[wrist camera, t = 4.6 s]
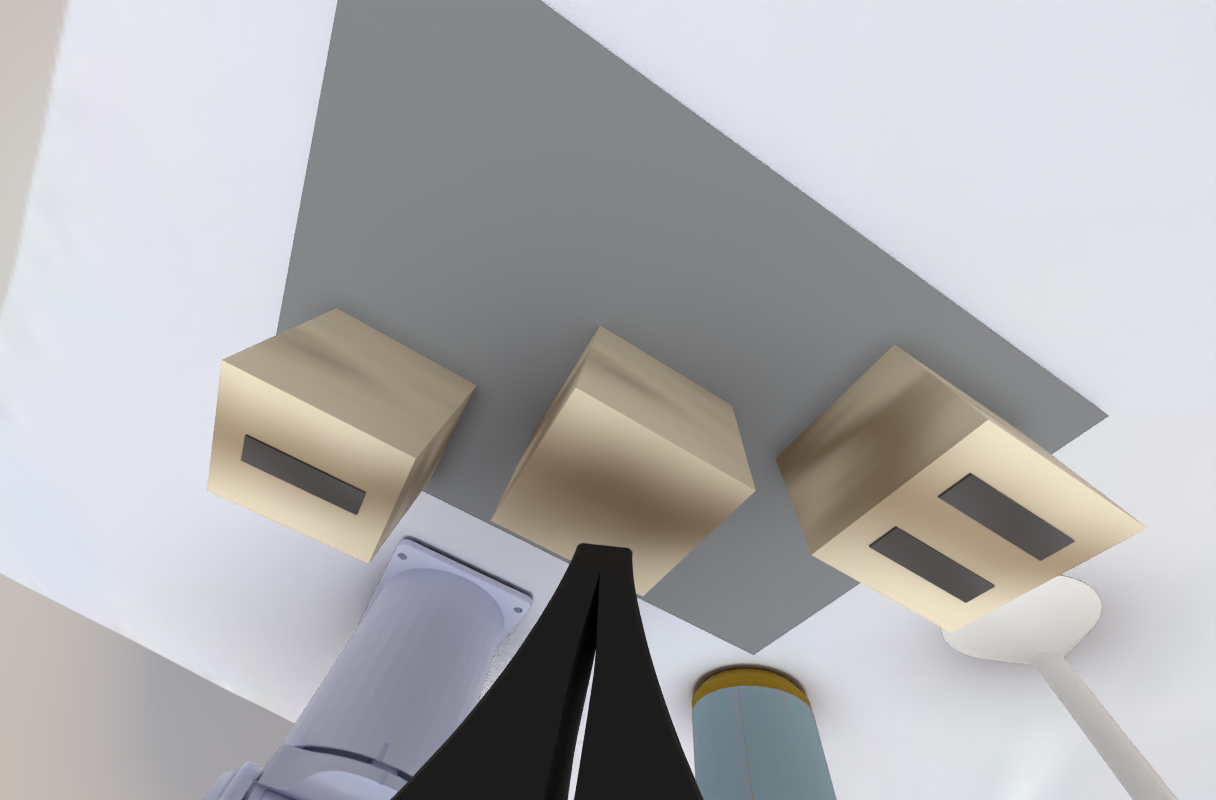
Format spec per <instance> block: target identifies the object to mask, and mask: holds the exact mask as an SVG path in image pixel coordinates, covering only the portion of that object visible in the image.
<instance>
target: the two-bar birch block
mask: <svg viewBox="0 0 1216 800" xmlns="http://www.w3.org/2000/svg"><path fill="white" fill-rule="evenodd" d="M775 459H776V461H777V464H778V467H779V469H780V472H781V475H782V477H783V480H784V483H785V486H786V488H787V491H788V494H789V496H790V499H791V502H792V504H793V507H794V510H795V512H796V515H797V518H798V521H799V523H800V526H801V529H802V531H803V534H804V537H805V539H806V542H807V545H808V548H809V550H810V553H811V555H812V556H814V557H816V558H818V559H819V560H821V561H823V562H825V563H827V564H828V565H830V566H832V567H834V568H835V569H837V570H839V571H841V572H843V573H844V574H846V575H848V576H850V577H852V578H853V579H855V580H857V581H859V582H861V583H862V584H864V585H866V586H868V587H870V588H871V589H873V590H875V591H877V592H878V593H880V594H882V595H884V596H886V597H887V598H889V599H891V600H893V601H895V602H896V603H898V604H900V605H902V606H904V607H905V608H907V609H909V610H911V611H913V612H914V613H916V614H918V615H920V616H922V617H923V618H925V619H927V620H929V621H930V622H932V623H934V624H936V625H938V626H939V627H941V628H943V629H945V630H947V631H948V632H950V633H952V632H954V631H956V630H958V629H960V628H962V627H963V626H965V625H967V624H969V623H971V622H973V621H975V620H977V619H978V618H980V617H982V616H984V615H986V614H988V613H990V612H991V611H993V610H995V609H997V608H999V607H1001V606H1003V605H1005V604H1006V603H1008V602H1010V601H1012V600H1014V599H1016V598H1018V597H1019V596H1021V595H1023V594H1025V593H1027V592H1029V591H1031V590H1033V589H1034V588H1036V587H1038V586H1040V585H1042V584H1044V583H1046V582H1047V581H1049V580H1051V579H1053V578H1055V577H1057V576H1059V575H1061V574H1062V573H1064V572H1066V571H1068V570H1070V569H1072V568H1074V567H1075V566H1077V565H1079V564H1081V563H1083V562H1085V561H1087V560H1089V559H1090V558H1092V557H1094V556H1096V555H1098V554H1100V553H1102V552H1104V551H1105V550H1107V549H1109V548H1111V547H1113V546H1115V545H1117V544H1118V543H1120V542H1122V541H1124V540H1126V539H1128V538H1130V537H1132V536H1133V535H1135V534H1137V533H1139V532H1141V531H1143V530H1145V529H1146V528H1147V527H1145V526H1144V525H1143V524H1142V523H1140V522H1139V521H1138V520H1136V519H1135V518H1134V517H1132V516H1131V515H1130V514H1128V513H1127V512H1126V511H1125V510H1123V509H1122V508H1121V507H1119V506H1118V505H1117V504H1115V503H1114V502H1113V501H1111V500H1110V499H1109V498H1107V497H1106V496H1105V495H1104V494H1102V493H1101V492H1100V491H1098V490H1097V489H1096V488H1094V487H1093V486H1092V485H1090V484H1089V483H1088V482H1087V481H1085V480H1084V479H1083V478H1081V477H1080V476H1079V475H1077V474H1076V473H1075V472H1073V471H1072V470H1071V469H1069V468H1068V467H1067V466H1066V465H1064V464H1063V463H1062V462H1060V461H1059V460H1058V459H1056V458H1055V457H1054V456H1052V455H1051V454H1050V453H1048V452H1047V451H1046V450H1045V449H1043V448H1042V447H1041V446H1039V445H1038V444H1037V443H1035V442H1034V441H1033V440H1031V439H1030V438H1029V437H1028V436H1026V435H1025V434H1024V433H1022V432H1021V431H1020V430H1018V429H1017V428H1016V427H1014V426H1013V425H1011V424H1010V423H1008V422H1007V421H1006V420H1004V419H1003V418H1001V417H1000V416H998V415H997V414H995V413H994V412H992V411H991V410H990V409H988V408H987V407H985V406H984V405H982V404H981V403H979V402H978V401H976V400H975V399H973V398H972V397H971V396H969V395H968V394H966V393H965V392H963V391H962V390H960V389H959V388H957V387H956V386H955V385H953V384H952V383H950V382H949V381H947V380H946V379H944V378H943V377H941V376H940V375H939V374H937V373H936V372H934V371H933V370H931V369H930V368H928V367H927V366H925V365H924V364H923V363H921V362H920V361H918V360H917V359H915V358H914V357H912V356H911V355H909V354H908V353H907V352H905V351H904V350H902V349H901V348H899V347H898V346H896V345H895V344H894V345H893V346H892V347H891V348H890V349H889V350H888V351H887V352H886V353H885V354H884V355H883V356H882V357H881V358H880V359H879V360H878V361H877V362H876V363H874V364H873V365H872V366H871V367H870V368H869V369H868V370H867V371H866V372H865V373H864V374H863V375H862V376H861V377H860V378H859V379H858V380H857V381H856V382H855V383H854V384H853V385H852V386H851V387H849V388H848V389H847V390H846V391H845V392H844V393H843V394H842V395H841V396H840V397H839V398H838V399H837V400H836V401H835V402H834V403H833V404H832V405H831V406H830V407H829V408H828V409H827V410H825V411H824V412H823V413H822V414H821V415H820V416H819V417H818V418H817V419H816V420H815V421H814V422H813V423H812V424H811V425H810V426H809V427H808V428H807V429H806V430H805V431H804V432H803V433H802V434H800V435H799V436H798V437H797V438H796V439H795V440H794V441H793V442H792V443H791V444H790V445H789V446H788V447H787V448H786V449H785V450H784V451H783V452H782V453H781V454H780V455H779V456H778V457H777V458H775Z"/></svg>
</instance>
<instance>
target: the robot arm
mask: <svg viewBox="0 0 1216 800" xmlns="http://www.w3.org/2000/svg"><path fill="white" fill-rule="evenodd" d="M632 555H633V552H632V551H631V550H630V549H629V548H625V547H616V546H606V545H597V544H588V543H581V544H579V545H577V548H576V551H575V553H574V556H573V558H572V560H571V562H570V564H569V566H568V569H567V571H566V572H565V574H564V576H563V578H562V580H561V582H560V584H559V586H558V588H557V589H556V591H555V593H554V595H553V596H552V598H551V600H550V601H549V603H548V605H547V606H546V608H545V610H544V611H543V613H542V615H541V616H540V618H539V620H538V621H537V623H536V624H535V626H534V627H533V629H532V630H531V632H530V633H529V635H528V636H527V638H526V639H525V641H524V642H523V644H522V645H521V647H520V648H519V650H518V651H517V653H516V654H515V655H514V657H513V658H512V660H511V661H510V662H509V664H508V665H507V666H506V668H505V669H504V670H503V672H502V673H501V675H500V676H499V677H498V678H497V680H496V681H495V682H494V684H493V685H492V686H491V687H490V689H489V690H488V691H487V693H486V694H485V695H484V696H483V698H482V699H481V700H480V701H479V702H478V700H479V697H480V694H481V691H482V689H483V686H484V683H485V680H486V677H487V674H488V671H489V668H490V665H491V662H492V659H493V657H494V654H495V651H496V648H497V647H498V646H499V645H500V643H501V642H502V641H503V640H504V639H505V638H506V636H507V635H508V634H509V633H510V632H511V630H512V629H513V628H514V627H515V626H516V625H517V623H518V622H519V621H520V620H521V619H522V617H523V616H524V615H525V614H526V613H527V612H528V610H529V609H530V607H531V604H532V599H531V598H530V597H529V596H527V595H525V594H523V593H521V592H519V591H517V590H515V589H513V588H511V587H508V586H506V585H504V584H502V583H500V582H498V581H496V580H494V579H492V578H489V577H487V576H485V575H483V574H481V573H479V572H477V571H475V570H473V569H470V568H468V567H466V566H464V565H462V564H460V563H458V562H456V561H454V560H451V559H449V558H447V557H445V556H443V555H441V554H439V553H437V552H435V551H432V550H430V549H428V548H426V547H424V546H422V545H420V544H418V543H416V542H413V541H411V540H407V539H404V540H402V541H401V542H400V543H399V544H398V546H397V547H396V549H395V552H394V554H393V556H392V558H391V560H390V562H389V564H388V566H387V568H386V570H385V572H384V574H383V576H382V578H381V580H380V582H379V584H378V586H377V588H376V590H375V592H374V594H373V596H372V598H371V600H370V602H369V605H368V607H367V609H366V611H365V613H364V615H363V617H362V619H361V621H360V623H359V627H358V628H357V630H356V631H355V633H354V634H353V636H352V637H351V639H350V641H349V642H348V644H347V645H346V647H345V648H344V650H343V651H342V653H341V654H340V656H339V657H338V659H337V660H336V662H335V663H334V665H333V666H332V668H331V670H330V671H329V673H328V674H327V676H326V677H325V679H324V680H323V682H322V683H321V685H320V686H319V688H318V689H317V691H316V692H315V694H314V695H313V697H312V699H311V700H310V702H309V703H308V705H307V706H306V708H305V709H304V711H303V712H302V714H301V715H300V717H299V718H298V720H297V721H296V723H295V724H294V726H293V728H292V729H291V731H290V732H289V734H288V735H287V737H286V738H285V740H284V741H283V743H282V745H281V746H280V747H279V749H278V750H277V751H276V752H275V754H274V755H273V756H272V757H271V758H270V759H269V761H268V762H267V763H266V764H265V765H264V766H263V767H262V769H261V770H260V771H259V769H260V766H259V765H257V764H254V763H252V762H246V763H244V764H243V765H242V766H241V767H240V768H239V769H234V770H232V771H230V772H227V773H225V774H223V775H221V776H220V777H219V778H218V780H217V781H216V782H215V784H214V785H213V786H212V788H211V789H210V790H209V792H208V793H207V795H206V796H205V797H204V799H203V800H568V793H569V786H570V778H571V771H572V764H573V757H574V752H575V746H576V741H577V735H578V730H579V726H580V721H581V716H582V712H583V707H584V702H585V698H586V693H587V689H588V684H589V679H590V675H591V670H592V665H593V661H594V656H595V651H596V657H595V667H594V676H593V683H592V689H591V696H590V702H589V709H588V716H587V722H586V728H585V735H584V741H583V747H582V754H581V760H580V767H579V773H578V779H577V785H576V791H575V797H574V800H704V799H703V797H702V795H701V792H700V790H699V787H698V785H697V783H696V780H695V778H694V776H693V773H692V771H691V768H690V766H689V764H688V761H687V759H686V757H685V754H684V752H683V749H682V747H681V744H680V741H679V739H678V736H677V733H676V731H675V728H674V725H673V723H672V720H671V717H670V714H669V711H668V709H667V706H666V703H665V700H664V697H663V694H662V691H661V688H660V685H659V682H658V679H657V676H656V672H655V669H654V666H653V662H652V659H651V655H650V652H649V648H648V644H647V641H646V637H645V633H644V629H643V624H642V620H641V616H640V611H639V607H638V602H637V596H636V590H635V584H634V576H633V561H632ZM477 703H478V704H477ZM258 771H259V772H258Z"/></svg>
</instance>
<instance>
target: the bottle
mask: <svg viewBox="0 0 1216 800" xmlns="http://www.w3.org/2000/svg"><path fill="white" fill-rule="evenodd" d="M692 722H693V742H694V762H695V780H696V783H697V785H698V787H699V790H700V792H701V795H702V797H703V799H704V800H836V796H835V792H834V788H833V785H832V781H831V777H830V774H829V770H828V766H827V762H826V759H825V755H824V751H823V747H822V744H821V740H820V736H819V733H818V729H817V725H816V721H815V718H814V714H813V712H812V709H811V705H810V702H809V700H808V698H807V697H806V695H805V694H804V693H803V692H802V691H801V690H800V689H799V688H797V687H796V686H795V685H794V684H793V683H791V682H790V681H789V680H788V679H786V678H785V677H783V676H781V675H778V674H776V673H774V672H771V671H766V670H761V669H756V668H737V669H732V670H725V671H722V672H720V673H717V674H715V675H712V676H710V677H709V678H708V679H707V680H706V681H704V682H703V684H702V685H701V686H700V687H699V689H698V690H697V691H696V693H695V695H694V697H693V699H692Z"/></svg>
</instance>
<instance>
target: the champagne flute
mask: <svg viewBox="0 0 1216 800" xmlns="http://www.w3.org/2000/svg"><path fill="white" fill-rule="evenodd" d="M1101 610H1102V608H1101V600H1100V598H1099V596H1098V594H1097V593H1096V592H1095V591H1094V590H1093V589H1092V588H1091V587H1090V586H1088V585H1086V584H1084V583H1083V582H1081V581H1079V580H1076V579H1072V578H1069V577H1066V576H1057V577H1055V578H1053V579H1051V580H1049V581H1047V582H1046V583H1044V584H1042V585H1040V586H1038V587H1036V588H1034V589H1033V590H1031V591H1029V592H1027V593H1025V594H1023V595H1021V596H1019V597H1018V598H1016V599H1014V600H1012V601H1010V602H1008V603H1006V604H1005V605H1003V606H1001V607H999V608H997V609H995V610H993V611H991V612H990V613H988V614H986V615H984V616H982V617H980V618H978V619H977V620H975V621H973V622H971V623H969V624H967V625H965V626H963V627H962V628H960V629H958V630H956V631H954V632H952V633H950V632H948V631H947V630H945V629H943V628H941V632H942V635H943V638H944V639H945V640H946V642H947V643H948V644H949V645H950V646H951V647H953V648H954V649H955V650H957V651H959V652H961V653H963V654H965V655H969V656H972V657H976V658H981V659H987V660H995V661H1003V662H1011V663H1019V664H1027V665H1035V667H1036V668H1037V669H1038V671H1039V672H1040V673H1041V675H1042V676H1043V677H1044V679H1045V680H1046V682H1047V683H1048V684H1049V686H1050V687H1051V688H1052V690H1053V691H1054V693H1055V694H1056V695H1057V697H1058V698H1059V699H1060V701H1061V702H1062V703H1063V705H1064V706H1065V708H1066V709H1067V710H1068V712H1069V713H1070V714H1071V716H1072V717H1073V719H1074V720H1075V721H1076V723H1077V724H1078V725H1079V727H1080V728H1081V729H1082V731H1083V732H1084V734H1085V735H1086V736H1087V738H1088V739H1089V740H1090V742H1091V743H1092V744H1093V746H1094V747H1095V749H1096V750H1097V751H1098V753H1099V754H1100V755H1101V757H1102V758H1103V760H1104V761H1105V762H1106V764H1107V765H1108V766H1109V768H1110V769H1111V770H1112V772H1113V773H1114V775H1115V776H1116V777H1117V779H1118V780H1119V781H1120V783H1121V784H1122V785H1123V787H1124V788H1125V790H1126V791H1127V792H1128V794H1129V795H1130V796H1131V798H1132V799H1133V800H1178V799H1177V797H1176V796H1175V795H1174V794H1173V792H1172V791H1171V790H1170V789H1169V787H1168V786H1167V785H1166V784H1165V782H1164V781H1163V780H1162V779H1161V777H1160V776H1159V775H1158V774H1157V772H1156V771H1155V770H1154V769H1153V767H1152V766H1151V765H1150V764H1149V762H1148V761H1147V760H1146V759H1145V758H1144V756H1143V755H1142V754H1141V753H1140V751H1139V750H1138V749H1137V748H1136V746H1135V745H1134V744H1133V743H1132V741H1131V740H1130V739H1129V738H1128V736H1127V735H1126V734H1125V733H1124V731H1123V730H1122V729H1121V728H1120V726H1119V725H1118V724H1117V723H1116V721H1115V720H1114V719H1113V718H1112V716H1111V715H1110V714H1109V713H1108V711H1107V710H1106V709H1105V708H1104V706H1103V705H1102V704H1101V703H1100V701H1099V700H1098V699H1097V698H1096V696H1095V695H1094V694H1093V693H1092V691H1091V690H1090V689H1089V688H1088V686H1087V685H1086V684H1085V683H1084V682H1083V680H1082V679H1081V678H1080V677H1079V675H1078V674H1077V673H1076V672H1075V670H1074V669H1073V668H1072V667H1071V665H1070V664H1069V663H1068V662H1067V660H1066V659H1065V658H1064V657H1065V656H1066V655H1067V654H1068V653H1069V652H1070V651H1071V650H1072V649H1073V648H1074V647H1075V646H1076V645H1077V643H1078V642H1079V641H1080V640H1081V639H1082V638H1083V637H1084V636H1085V635H1086V634H1087V633H1088V632H1089V631H1090V630H1091V629H1092V628H1093V627H1094V625H1095V624H1096V622H1097V621H1098V619H1099V617H1100V613H1101Z"/></svg>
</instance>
